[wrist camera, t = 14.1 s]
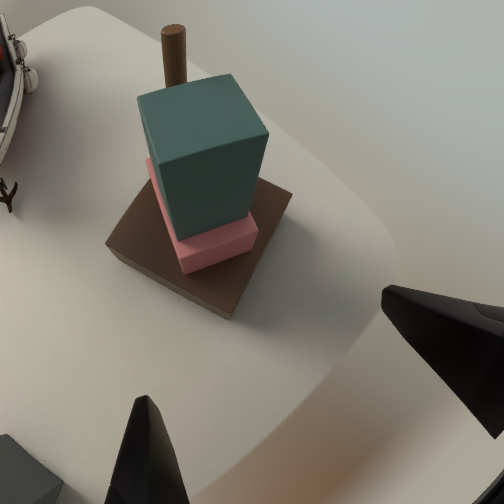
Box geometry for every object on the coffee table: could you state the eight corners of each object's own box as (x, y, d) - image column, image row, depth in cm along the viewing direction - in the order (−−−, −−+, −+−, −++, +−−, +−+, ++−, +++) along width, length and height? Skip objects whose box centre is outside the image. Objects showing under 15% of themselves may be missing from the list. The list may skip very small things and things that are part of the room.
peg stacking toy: (252, 250, 15) (302, 114, 7) (184, 275, 15) (148, 153, 6) (213, 165, 17) (221, 15, 8) (152, 184, 16) (116, 37, 7)
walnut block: (283, 213, 19) (293, 193, 17) (228, 320, 17) (230, 314, 14) (181, 164, 20) (178, 140, 17) (117, 258, 17) (104, 243, 15)
